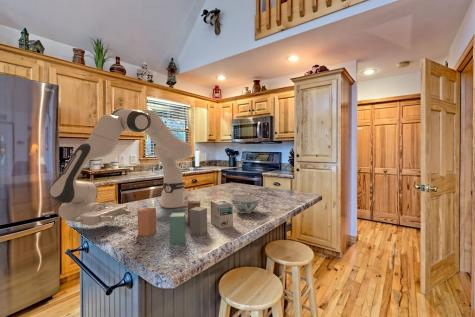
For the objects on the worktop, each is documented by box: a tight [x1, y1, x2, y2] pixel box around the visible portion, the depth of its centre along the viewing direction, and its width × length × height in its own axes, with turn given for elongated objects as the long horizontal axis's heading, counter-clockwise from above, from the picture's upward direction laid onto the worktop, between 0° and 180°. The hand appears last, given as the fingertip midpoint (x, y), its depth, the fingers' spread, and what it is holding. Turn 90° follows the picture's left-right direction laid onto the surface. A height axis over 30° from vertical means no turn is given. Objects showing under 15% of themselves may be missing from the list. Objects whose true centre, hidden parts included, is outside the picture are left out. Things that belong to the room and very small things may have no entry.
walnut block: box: [187, 200, 201, 226], centre depth 109 cm, size 5×5×10 cm
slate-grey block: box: [189, 206, 208, 237], centre depth 97 cm, size 5×5×10 cm
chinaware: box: [231, 195, 260, 214], centre depth 128 cm, size 15×15×8 cm
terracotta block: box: [137, 206, 157, 237], centre depth 96 cm, size 5×5×10 cm
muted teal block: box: [169, 212, 187, 245], centre depth 88 cm, size 5×5×10 cm
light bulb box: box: [210, 198, 234, 230], centre depth 107 cm, size 11×7×11 cm, turn 30°
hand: (121, 215), depth 98 cm, fingers open, 8 cm apart
